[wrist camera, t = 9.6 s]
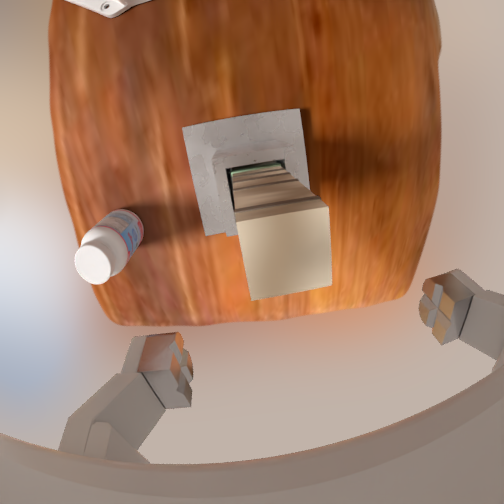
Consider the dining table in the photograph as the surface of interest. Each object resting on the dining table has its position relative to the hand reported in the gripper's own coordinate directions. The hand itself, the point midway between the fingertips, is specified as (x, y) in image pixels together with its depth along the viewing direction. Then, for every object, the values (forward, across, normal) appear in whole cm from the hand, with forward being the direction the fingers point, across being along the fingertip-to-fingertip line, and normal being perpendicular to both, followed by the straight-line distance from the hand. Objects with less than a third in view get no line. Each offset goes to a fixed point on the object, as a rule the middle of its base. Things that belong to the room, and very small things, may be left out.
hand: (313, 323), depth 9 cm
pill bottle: (+30, +18, +4) cm, 35 cm away
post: (+22, 0, 0) cm, 22 cm away
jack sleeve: (+29, 0, 0) cm, 29 cm away
